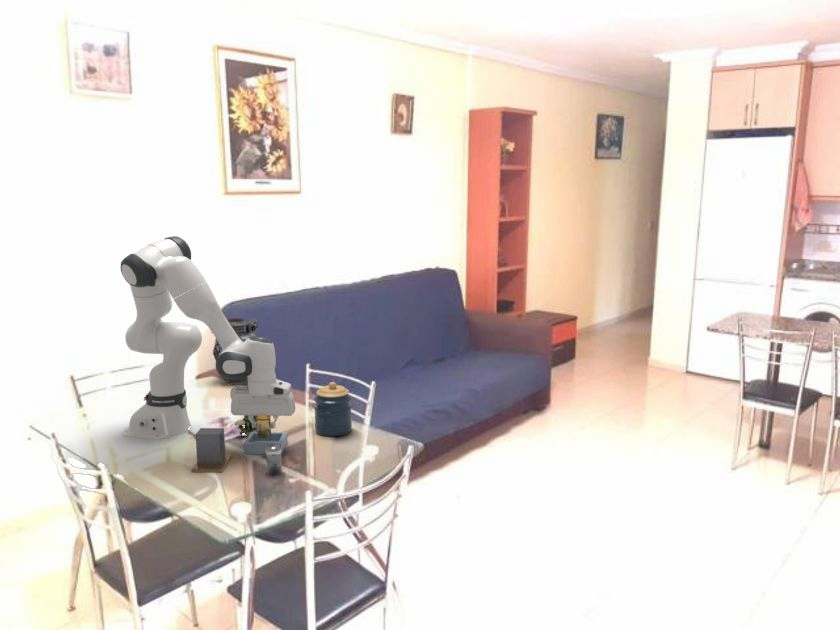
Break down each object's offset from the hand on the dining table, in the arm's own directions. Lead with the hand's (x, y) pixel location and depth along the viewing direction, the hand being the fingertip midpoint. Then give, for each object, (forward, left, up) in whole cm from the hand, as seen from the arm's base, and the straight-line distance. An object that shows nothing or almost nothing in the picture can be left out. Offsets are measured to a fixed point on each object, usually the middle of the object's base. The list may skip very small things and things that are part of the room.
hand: (263, 427), depth 205 cm
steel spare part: (+7, -17, -7) cm, 20 cm away
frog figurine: (-8, +15, -8) cm, 18 cm away
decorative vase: (-29, +74, -7) cm, 79 cm away
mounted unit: (-13, -12, -7) cm, 19 cm away
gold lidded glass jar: (0, 0, -3) cm, 3 cm away
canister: (+20, +17, -7) cm, 27 cm away
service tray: (0, +1, -7) cm, 7 cm away
